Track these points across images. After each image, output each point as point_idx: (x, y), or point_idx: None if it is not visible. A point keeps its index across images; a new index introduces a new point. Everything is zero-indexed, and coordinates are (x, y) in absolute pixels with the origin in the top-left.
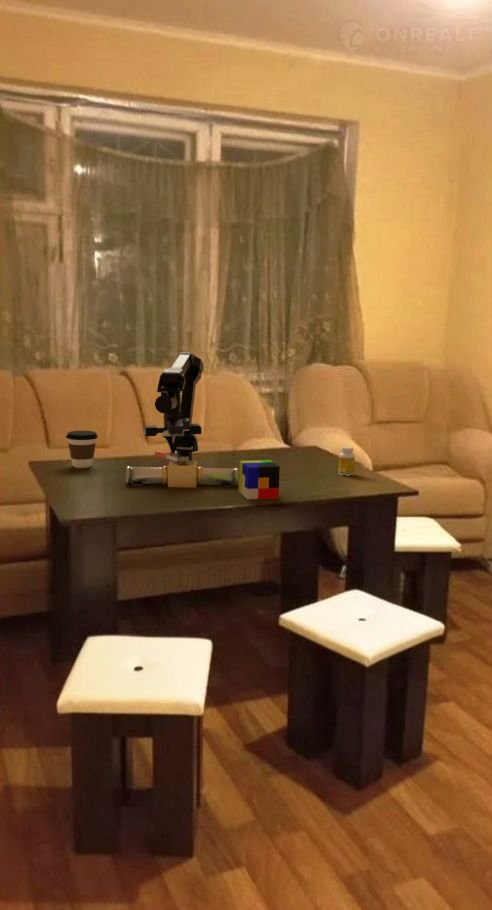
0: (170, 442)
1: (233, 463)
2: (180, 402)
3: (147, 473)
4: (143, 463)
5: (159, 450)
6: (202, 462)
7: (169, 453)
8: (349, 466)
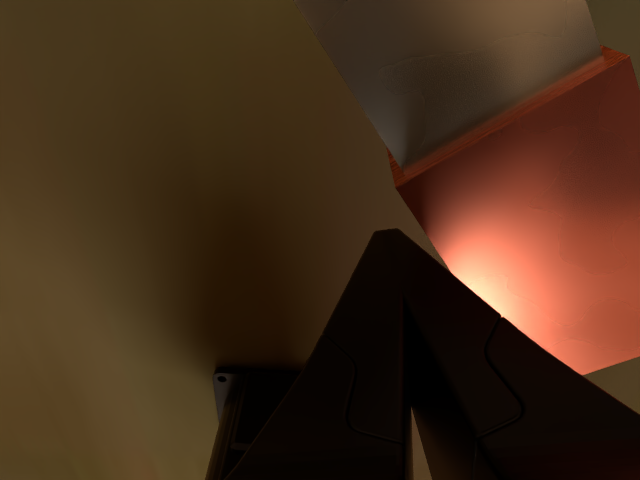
0: (539, 399)
1: (22, 459)
2: None
3: None
4: None
5: (605, 364)
6: (186, 476)
7: (496, 131)
8: None
